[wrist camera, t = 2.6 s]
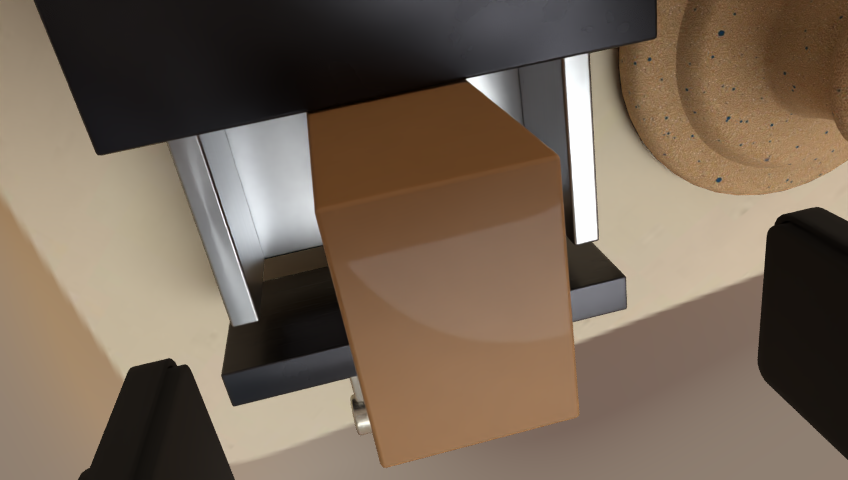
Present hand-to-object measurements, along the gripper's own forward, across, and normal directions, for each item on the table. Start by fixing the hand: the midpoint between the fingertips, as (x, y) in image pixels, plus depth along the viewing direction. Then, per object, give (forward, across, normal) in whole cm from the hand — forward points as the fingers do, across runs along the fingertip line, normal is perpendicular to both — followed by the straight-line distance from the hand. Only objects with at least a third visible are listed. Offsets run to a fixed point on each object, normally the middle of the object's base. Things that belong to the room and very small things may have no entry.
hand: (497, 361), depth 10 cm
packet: (+12, 0, 0) cm, 12 cm away
